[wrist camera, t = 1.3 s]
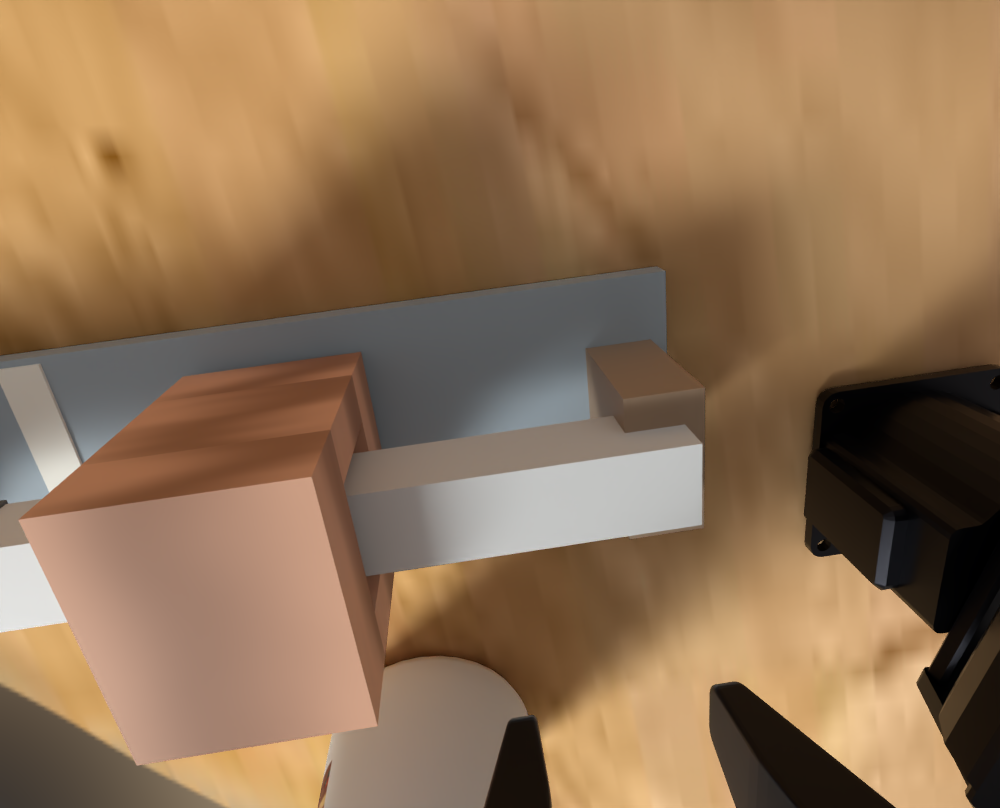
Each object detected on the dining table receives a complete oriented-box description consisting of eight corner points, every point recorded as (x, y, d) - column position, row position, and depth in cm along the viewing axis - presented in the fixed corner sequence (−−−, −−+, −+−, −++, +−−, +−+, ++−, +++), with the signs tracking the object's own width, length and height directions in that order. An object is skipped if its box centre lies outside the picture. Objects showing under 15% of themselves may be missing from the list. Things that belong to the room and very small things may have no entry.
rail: (656, 266, 19) (751, 315, 13) (661, 494, 22) (740, 615, 16) (-199, 382, 18) (-498, 490, 12) (-70, 605, 21) (-261, 774, 15)
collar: (360, 351, 18) (311, 476, 11) (398, 529, 20) (377, 726, 13) (182, 376, 17) (18, 520, 11) (241, 553, 20) (137, 765, 13)
